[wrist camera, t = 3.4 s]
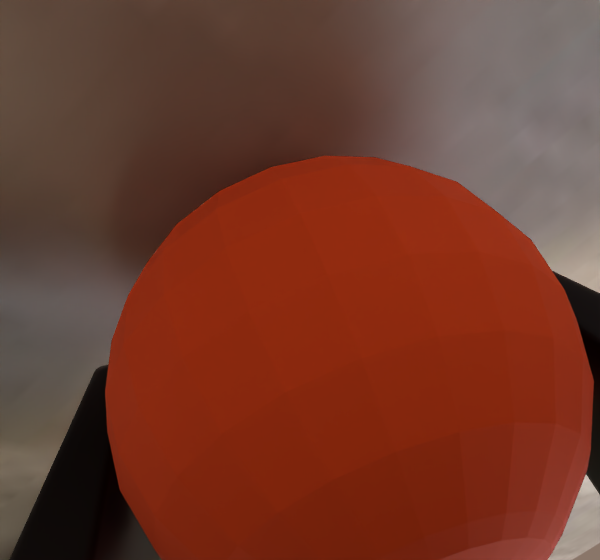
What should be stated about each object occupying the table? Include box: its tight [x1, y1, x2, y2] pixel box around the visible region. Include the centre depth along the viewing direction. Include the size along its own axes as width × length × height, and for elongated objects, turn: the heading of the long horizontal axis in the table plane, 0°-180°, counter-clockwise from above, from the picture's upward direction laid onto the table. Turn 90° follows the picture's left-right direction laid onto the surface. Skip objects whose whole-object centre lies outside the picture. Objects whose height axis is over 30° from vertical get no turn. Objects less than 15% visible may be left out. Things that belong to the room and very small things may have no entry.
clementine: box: [105, 156, 594, 560], centre depth 9 cm, size 8×7×7 cm
